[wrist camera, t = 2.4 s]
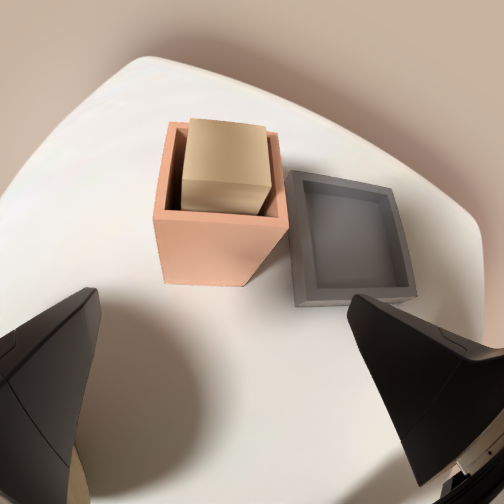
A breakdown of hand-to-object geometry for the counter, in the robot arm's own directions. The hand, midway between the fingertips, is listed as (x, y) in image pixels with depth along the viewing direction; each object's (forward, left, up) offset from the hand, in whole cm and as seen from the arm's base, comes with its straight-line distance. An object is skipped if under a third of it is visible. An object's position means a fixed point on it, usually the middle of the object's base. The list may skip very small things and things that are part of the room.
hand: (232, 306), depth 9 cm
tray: (-15, -8, -14) cm, 21 cm away
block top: (-1, -8, -5) cm, 9 cm away
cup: (-1, -8, -14) cm, 16 cm away
